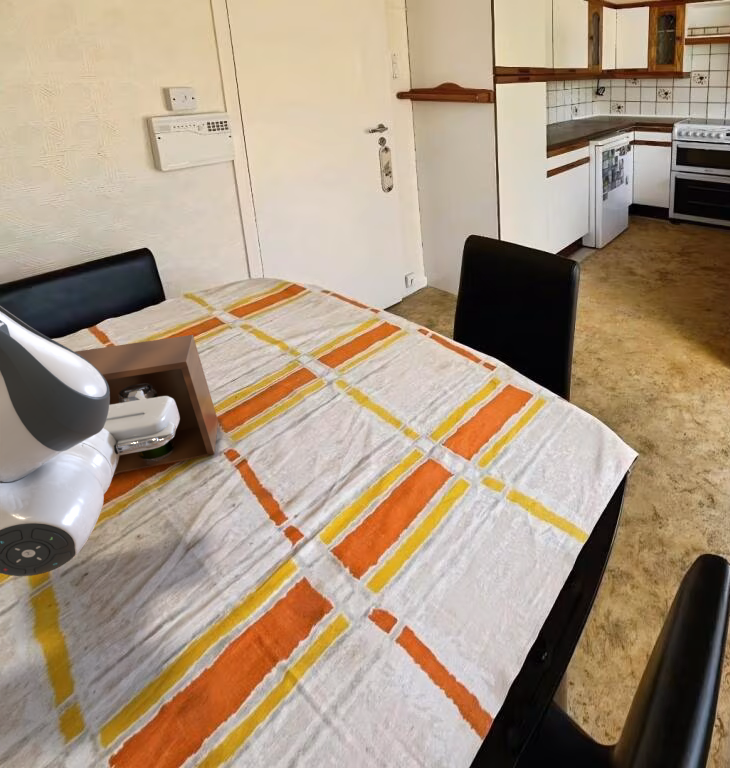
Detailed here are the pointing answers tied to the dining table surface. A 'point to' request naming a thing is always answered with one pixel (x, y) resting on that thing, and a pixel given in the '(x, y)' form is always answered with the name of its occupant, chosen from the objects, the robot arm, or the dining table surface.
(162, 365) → the cupboard
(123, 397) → the beer can
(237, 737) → the dining table surface
